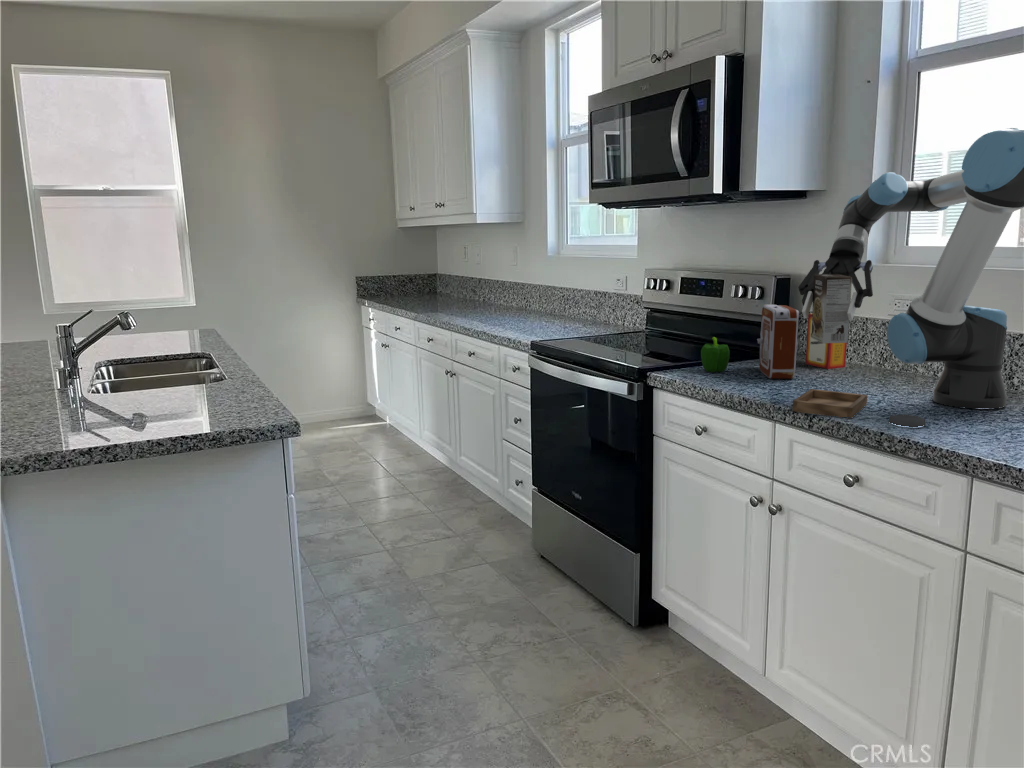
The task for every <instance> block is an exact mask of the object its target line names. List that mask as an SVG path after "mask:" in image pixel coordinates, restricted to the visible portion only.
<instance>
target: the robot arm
mask: <svg viewBox="0 0 1024 768" xmlns="http://www.w3.org/2000/svg"><path fill="white" fill-rule="evenodd" d="M963 203H965V205H964V207H963V209H962V211H961V213H960V216H959V217H958V220H957V222H956V224H955V226H954V228H953V229H952V233H951V234H950V236H949V239H948V240H947V242H946V245H945V246H944V249H943V250H942V253H941V255H940V257H939V259H938V261H937V264H936V266H935V268H934V270H933V273H931V276H930V279H929V281H928V283H927V285H926V286H925V287H926V288H925V289H924V291H923V293H922V295H920V296H916V297H914V298H913V299H912V300H911V301H910V304H909V306H908V308H907V310H906V312H899V313H898V314H896V315H894V316H892V317H891V319H890V320H889V322H888V325H887V329H886V340H887V342H888V347H889V349H890V351H891V353H892V355H893V356H894V357H895V358H896V359H897V360H898V361H900V362H902V363H904V364H917V365H921V364H926V363H928V364H929V363H940V362H941V363H943V362H944V366H943V370H942V372H941V374H940V376H939V378H938V380H937V383H936V385H935V386H934V389H933V394H932V401H933V402H934V403H937V404H940V405H943V404H944V405H943V406H947V405H949V407H952V406H955V407H954V408H958V407H965V408H964V409H966V408H999V407H1003V406H1005V405H1006V406H1007V401H1008V395H1007V391H1006V389H1005V383H1004V380H1003V375H1002V367H1003V366H1002V365H1003V359H1004V353H1005V344H1006V336H1007V330H1008V326H1007V321H1008V316H1007V314H1006V312H1005V311H1004V310H1002V309H997V308H990V307H981V306H980V307H979V306H974V305H966V303H967V301H968V300H969V297H970V296H971V294H972V292H973V290H974V288H975V286H976V284H977V283H978V280H979V278H980V276H981V274H982V273H983V271H984V269H985V268H986V265H987V264H988V261H989V259H990V257H991V255H992V253H993V252H994V250H995V247H996V245H997V243H998V242H999V240H1000V238H1001V236H1002V234H1003V232H1004V230H1005V229H1006V226H1007V224H1008V222H1009V221H1010V219H1011V217H1012V215H1013V213H1014V212H1016V211H1018V210H1021V209H1024V128H1018V127H1010V128H1005V129H996V130H992V131H989V132H987V133H984V134H983V135H981V136H980V137H978V138H977V139H976V140H975V141H973V143H971V145H970V147H969V148H968V150H967V151H966V153H965V155H964V156H963V160H962V163H961V170H959V171H955V172H951V173H948V174H944V175H943V174H942V175H941V176H937V177H934V178H930V179H925V180H906V179H905V177H903V176H902V175H901V174H896V172H892V171H890V172H888V171H887V172H884V173H883V174H881V175H880V176H879V177H878V178H877V179H875V180H874V181H873V182H872V183H871V184H870V185H869V186H868V188H866V189H865V191H863V193H862V194H857V195H855V196H852V197H851V198H849V199H848V201H847V204H846V205H845V207H844V208H843V211H842V212H843V213H842V217H841V219H840V223H839V225H838V228H837V232H836V235H835V238H834V241H833V244H832V246H831V250H830V253H829V256H828V258H827V260H826V261H823V262H820V260H818V259H816V260H814V261H813V265H812V267H811V269H810V270H809V271H808V273H807V275H806V276H805V277H804V278H803V280H802V281H801V282H800V284H799V285H798V286H797V287H798V288H797V289H798V291H799V294H800V296H802V298H801V299H802V300H801V303H802V309H801V313H802V316H803V319H808V314H809V313H810V311H811V307H812V306H813V283H814V275H816V274H840V275H845V276H849V277H852V285H853V288H854V290H855V291H853V293H852V295H851V302H850V306H849V309H848V312H847V314H848V318H849V321H853V319H854V317H855V314H856V313H855V312H856V309H857V308H858V309H861V306H862V305H863V304H862V303H863V301H864V298H865V297H868V298H871V297H873V296H874V294H873V283H872V272H873V263H872V260H870V259H869V260H866V261H865V262H864V261H862V259H863V255H864V252H865V248H866V246H867V242H868V239H869V236H870V233H871V229H872V227H873V226H874V224H876V223H877V222H878V221H879V220H880V219H881V218H882V217H884V216H885V215H886V214H887V213H903V212H905V213H906V212H909V213H910V212H929V213H932V212H933V213H935V212H940V211H941V212H942V211H945V210H947V209H948V208H949V207H950V206H954V205H959V204H963ZM823 269H824V270H823ZM860 269H862V271H863V274H864V283H865V288H864V289H863V287H862V285H861V283H860V281H859V279H858V277H857V275H856V272H857V271H859V270H860ZM822 271H823V272H822ZM821 272H822V273H821ZM1006 406H1005V407H1006Z"/></svg>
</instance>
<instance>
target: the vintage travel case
mask: <svg viewBox="0 0 1024 768" xmlns="http://www.w3.org/2000/svg"><path fill="white" fill-rule="evenodd" d="M799 317H800V312H799V310H798V309H795V308H793V307H791V306H790V305H789V306H788V305H783V304H779V305H777V304H763V306H762V309H761V324H760V326H761V327H760V335H759V336H760V338H757V339H756V340H757V344H759V362H758V363H759V366H758V367H759V370H760V372H761V373H762V374H763V375H765V377H767V378H768V379H769V380H792V379H794V378H795V375H796V373H795V372H796V363H797V362H796V361H797V352H798V347H799V343H798V330H799V329H798V328H799Z"/></svg>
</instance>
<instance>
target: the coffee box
mask: <svg viewBox="0 0 1024 768" xmlns="http://www.w3.org/2000/svg"><path fill="white" fill-rule="evenodd" d="M852 285H853V284H852V277H849V276H845V275H840V274H822V273H819V274H816V275H814V283H813V302H812V311H811V313H812V338H813V339H815V340H817V341H819V342H821V343H847V344H848V343H849V333H850V320H849V318H848V314H847V312H848V309H849V306H850V302H851V299H852Z"/></svg>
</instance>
